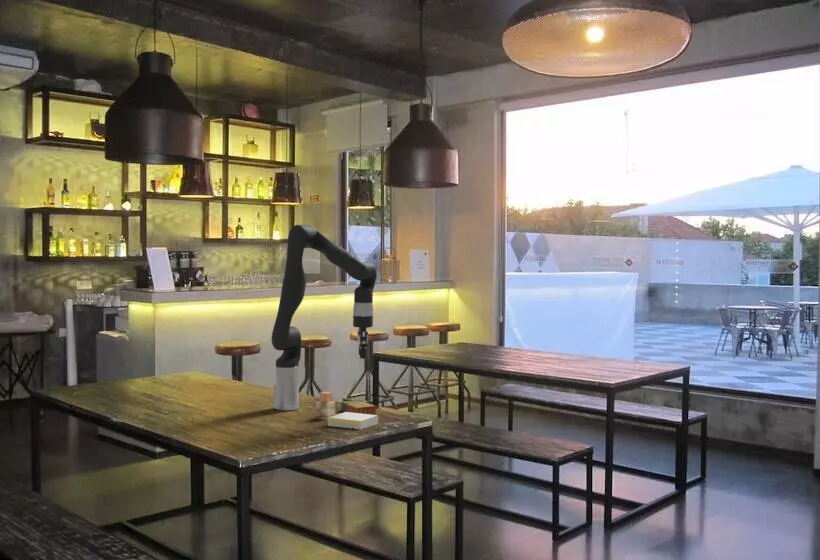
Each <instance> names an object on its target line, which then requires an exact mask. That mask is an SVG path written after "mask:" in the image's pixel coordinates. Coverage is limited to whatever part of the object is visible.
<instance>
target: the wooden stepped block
mask: <svg viewBox="0 0 820 560" xmlns="http://www.w3.org/2000/svg"><path fill="white" fill-rule="evenodd" d="M334 415H337V413H336V400H332V402H329V403H323V402H320V400H319V401H317V402H316V403H315V415H314V420H322V421H323V420H324V421H328V417H331V416H334Z"/></svg>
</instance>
